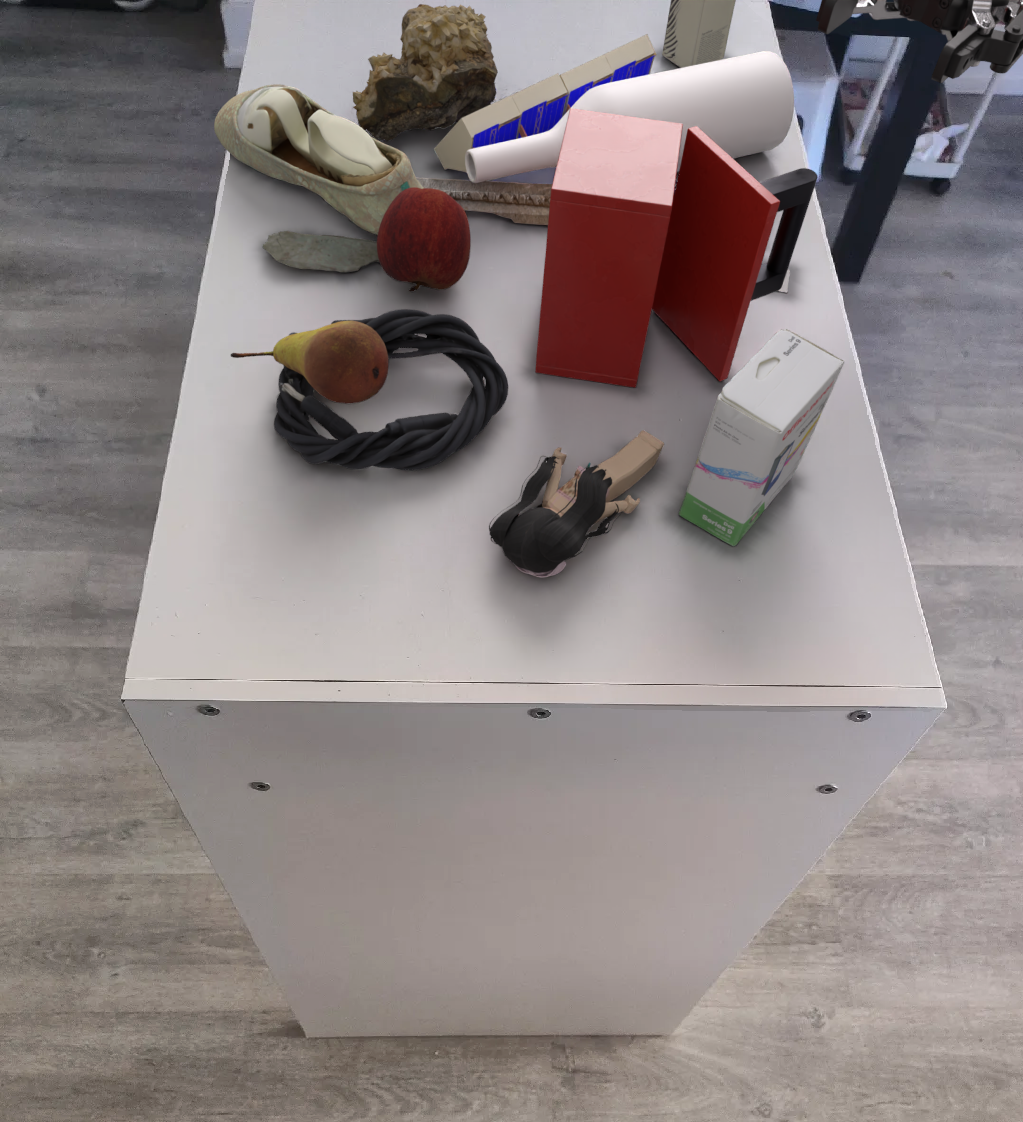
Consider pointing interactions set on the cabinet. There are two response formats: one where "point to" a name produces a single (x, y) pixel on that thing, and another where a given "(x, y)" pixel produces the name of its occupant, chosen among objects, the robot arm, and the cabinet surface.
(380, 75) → the mineral specimen
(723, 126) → the bottle
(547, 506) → the toy figure
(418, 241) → the apple
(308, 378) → the fruit
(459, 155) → the building
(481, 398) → the cable
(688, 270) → the door
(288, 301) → the cabinet surface
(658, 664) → the cabinet surface
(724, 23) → the box
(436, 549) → the cabinet surface
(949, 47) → the robot arm
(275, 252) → the stone
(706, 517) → the ink box
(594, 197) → the cabinet
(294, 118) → the ballet flat
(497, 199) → the fossil
